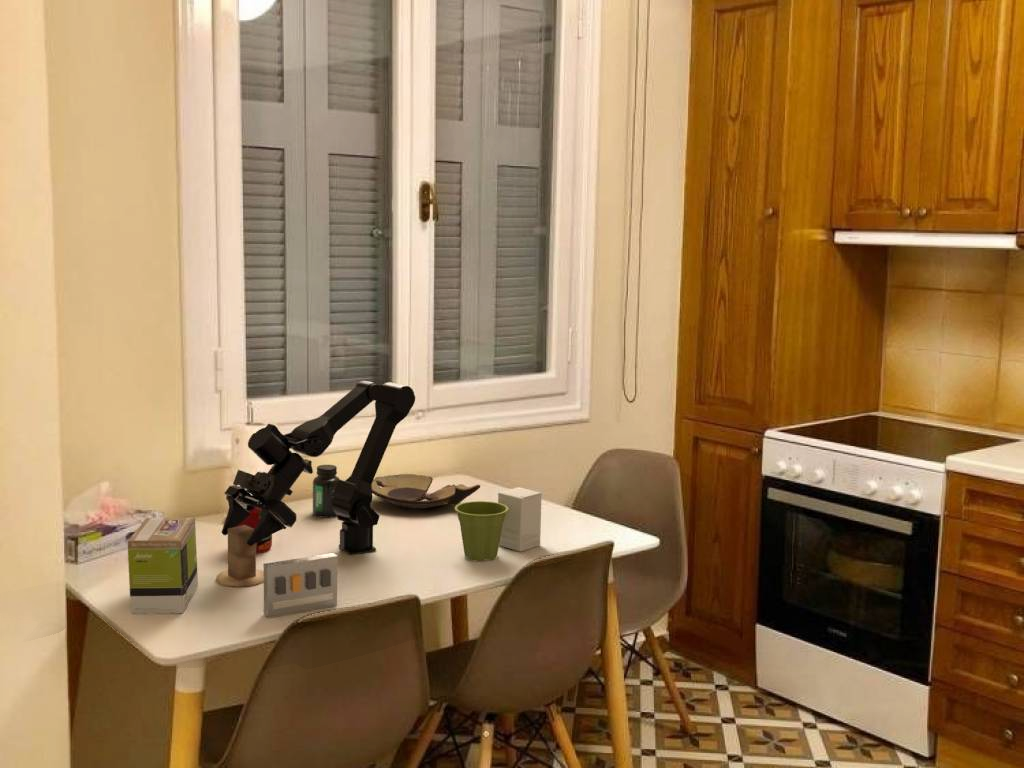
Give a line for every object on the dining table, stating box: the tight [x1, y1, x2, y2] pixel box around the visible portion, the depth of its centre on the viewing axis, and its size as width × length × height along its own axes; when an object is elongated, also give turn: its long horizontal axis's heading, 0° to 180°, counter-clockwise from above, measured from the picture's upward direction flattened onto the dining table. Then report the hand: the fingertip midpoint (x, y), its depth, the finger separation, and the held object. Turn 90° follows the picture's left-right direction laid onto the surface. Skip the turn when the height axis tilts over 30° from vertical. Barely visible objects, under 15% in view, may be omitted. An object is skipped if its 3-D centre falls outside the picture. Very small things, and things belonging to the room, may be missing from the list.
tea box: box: [127, 516, 199, 615], centre depth 216 cm, size 15×10×15 cm, turn 5°
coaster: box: [216, 568, 264, 588], centre depth 231 cm, size 10×10×1 cm
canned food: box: [238, 503, 273, 554], centre depth 250 cm, size 8×8×11 cm
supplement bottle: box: [312, 464, 341, 518], centre depth 278 cm, size 7×7×12 cm
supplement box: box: [497, 486, 543, 552], centre depth 257 cm, size 7×7×13 cm
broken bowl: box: [372, 473, 481, 509], centre depth 287 cm, size 22×30×8 cm
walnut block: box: [227, 525, 257, 581], centre depth 230 cm, size 4×4×10 cm
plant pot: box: [454, 500, 508, 562], centre depth 249 cm, size 12×12×11 cm
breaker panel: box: [263, 552, 338, 619], centre depth 213 cm, size 14×3×10 cm, turn 122°
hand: (235, 539), depth 228 cm, fingers open, 9 cm apart
